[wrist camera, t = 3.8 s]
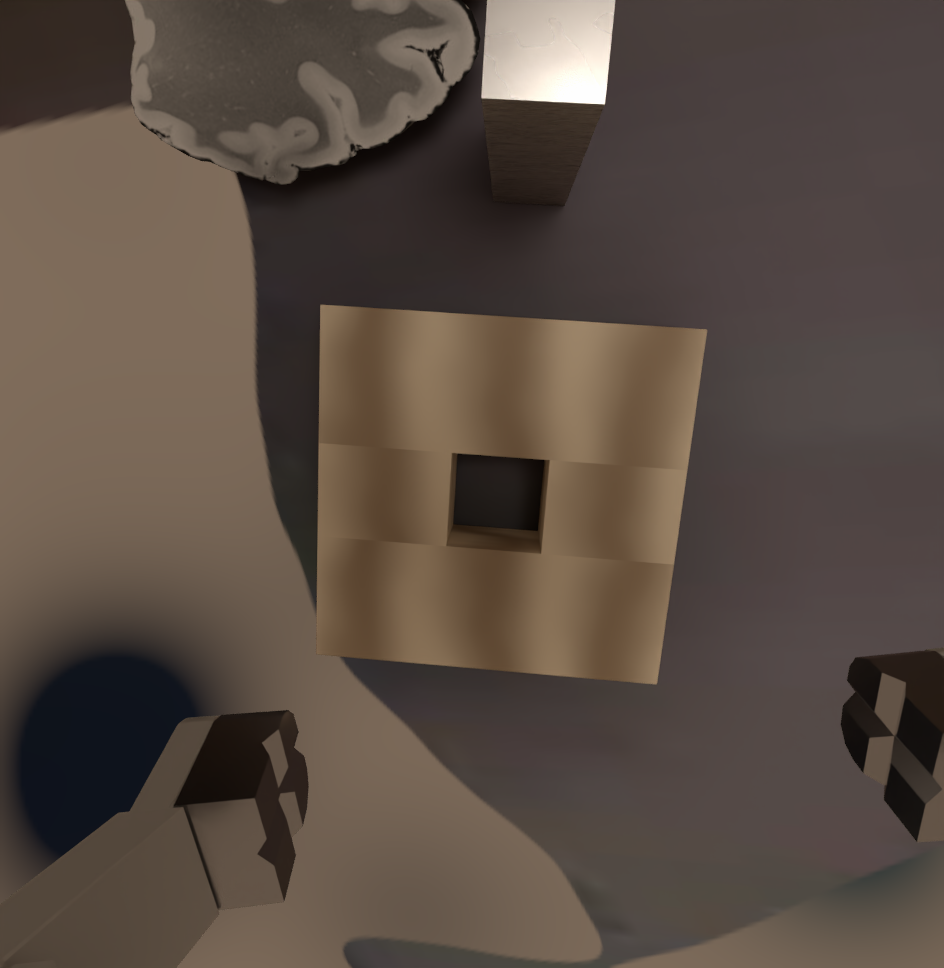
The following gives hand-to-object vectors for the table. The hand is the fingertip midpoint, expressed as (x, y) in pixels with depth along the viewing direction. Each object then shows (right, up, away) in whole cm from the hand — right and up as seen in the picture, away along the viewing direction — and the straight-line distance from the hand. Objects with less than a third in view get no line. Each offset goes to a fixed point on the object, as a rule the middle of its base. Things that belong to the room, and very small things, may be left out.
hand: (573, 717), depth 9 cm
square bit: (+2, +19, +22) cm, 30 cm away
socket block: (0, +3, +26) cm, 26 cm away
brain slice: (-9, +28, +22) cm, 36 cm away
